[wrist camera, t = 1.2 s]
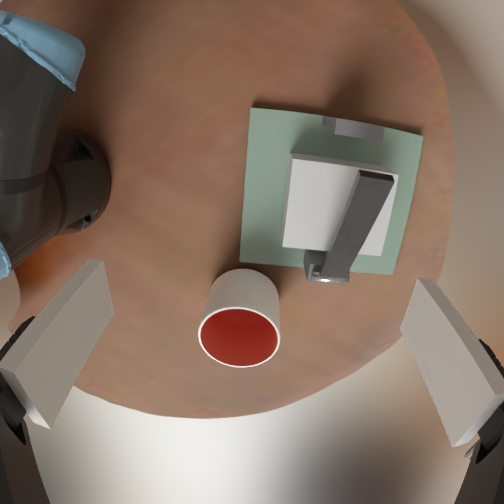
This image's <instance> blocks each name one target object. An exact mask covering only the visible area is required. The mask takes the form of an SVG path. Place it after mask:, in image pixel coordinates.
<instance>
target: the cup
mask: <svg viewBox="0 0 504 504" xmlns="http://www.w3.org/2000/svg"><path fill="white" fill-rule="evenodd" d="M198 337H199V342H200V344H201V346H202V348H203V349H204V351H205V352H206V353H207V354H208V355H209V356H210V357H212V358H213V359H214V360H216V361H218V362H220V363H222V364H225V365H228V366H233V367H251V366H256V365H259V364H261V363H263V362H265V361H267V360H269V359H270V358H271V357H272V356H273V355H274V354H275V353H276V351H277V350H278V347H279V345H280V315H279V296H278V292H277V289H276V287H275V285H274V284H273V282H272V281H271V280H270V279H269V278H268V277H266V276H265V275H264V274H262V273H260V272H258V271H255V270H251V269H234V270H231V271H228V272H226V273H224V274H222V275H221V276H220V277H218V278H217V279H216V280H215V282H214V283H213V285H212V287H211V289H210V292H209V295H208V299H207V302H206V305H205V309H204V312H203V316H202V319H201V323H200V326H199V330H198Z"/></svg>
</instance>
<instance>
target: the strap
mask: <svg viewBox="0 0 504 504" xmlns="http://www.w3.org/2000/svg"><path fill="white" fill-rule="evenodd" d="M394 182H395V181H394V178H393V175H388V174H383V173H377V172H371V171H365V170H358V173H357V176H356V179H355V181H354V184H353V187H352V189H351V192H350V195H349V197H348V200H347V203H346V205H345V208H344V210H343V213H342V216H341V218H340V221H339V223H338V226H337V228H336V231H335V233H334V236H333V238H332V241H331V243H330V246H329V248H328V251H327V253H326V255H325V258H324V260H323V263H322V265H321V267H320V270H319V272H317V271H312V273H311V281H313V282H325V283H339V284H348V283H349V274H347V273H348V271H349V269H350V267H351V266H352V264H353V262H354V260H355V258H356V257H357V255H358V253H359V251H360V249H361V248H362V246H363V244H364V242H365V240H366V238H367V236H368V234H369V232H370V231H371V229H372V227H373V225H374V223H375V221H376V219H377V217H378V215H379V213H380V211H381V209H382V207H383V205H384V203H385V201H386V199H387V197H388V195H389V193H390V191H391V189H392V187H393V185H394Z"/></svg>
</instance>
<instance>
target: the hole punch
mask: <svg viewBox="0 0 504 504" xmlns="http://www.w3.org/2000/svg"><path fill="white" fill-rule="evenodd" d="M422 143H423V136H420V135H416V134H412V133H408V132H404V131H400V130H396V129H391V128H387V127H382V126H378V125H373V124H368V123H363V122H358V121H352V120H347V119H341V118H335V117H328V116H322V115H315V114H307V113H300V112H291V111H282V110H272V109H260V108H251V110H250V122H249V135H248V147H247V160H246V174H245V187H244V201H243V215H242V229H241V243H240V258H239V262H245V263H256V264H268V265H279V266H290V267H302V268H304V269H305V274H306V278H307V281H308V282H313V281H311V273H312V271H317V272H319V270H320V267H321V265H322V263H323V260H324V258H325V255H326V253H327V251H328V248H329V246H330V243H331V241H332V238H333V236H334V233H335V231H336V228H337V226H338V223H339V221H340V218H341V216H342V213H343V210H344V208H345V205H346V203H347V200H348V197H349V195H350V192H351V189H352V187H353V184H354V181H355V179H356V176H357V173H358V170H365V171H371V172H377V173H383V174H388V175H393V178H394V181H395V182H394V185H393V187H392V189H391V191H390V193H389V195H388V197H387V199H386V201H385V203H384V205H383V207H382V209H381V211H380V213H379V215H378V217H377V219H376V221H375V223H374V225H373V227H372V229H371V231H370V232H369V234H368V236H367V238H366V240H365V242H364V244H363V246H362V248H361V249H360V251H359V253H358V255H357V257H356V258H355V260H354V262H353V264H352V266H351V267H350V269H349V271H348V273H347V274H349V273H350V272H362V273H374V274H387V275H392V274H393V271H394V268H395V264H396V261H397V257H398V254H399V250H400V246H401V243H402V239H403V235H404V231H405V227H406V223H407V219H408V215H409V211H410V206H411V202H412V197H413V192H414V188H415V183H416V177H417V172H418V167H419V161H420V155H421V149H422ZM321 283H325V282H321ZM334 284H339V283H334Z"/></svg>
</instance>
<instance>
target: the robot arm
mask: <svg viewBox="0 0 504 504" xmlns="http://www.w3.org/2000/svg"><path fill="white" fill-rule="evenodd" d="M84 59H85V47H84V45H83V43H82V42H81V41H80V40H79V39H78V38H76V37H74V36H72V35H70V34H68V33H66V32H64V31H62V30H60V29H57V28H55V27H52V26H50V25H47V24H45V23H42V22H39V21H37V20H34V19H31V18H28V17H24V16H21V15H16V14H12V13H8V12H6V11H1V10H0V279H2V278H3V277H7V276H8V275H9V274H10V272H11V271H12V270H13V269H14V268H16V267H17V266H18V265H19V264H20V263H21V262H23V261H24V260H25V259H26V258H27V257H29V256H30V255H31V254H32V253H33V252H35V251H36V250H37V249H38V248H40V247H41V246H42V245H43V244H45V243H46V242H47V241H49V240H50V239H51V238H53V237H54V236H58V235H64V234H70V233H76V232H79V231H81V230H83V229H85V228H87V227H88V226H90V225H91V224H92V223H93V222H95V221H96V220H97V219H98V218H99V217H100V216H101V214H102V213H103V211H104V210H105V208H106V206H107V203H108V200H109V196H110V189H111V178H110V171H109V166H108V163H107V160H106V158H105V156H104V154H103V152H102V150H101V149H100V147H99V146H98V144H97V143H96V142H95V141H94V140H93V139H92V138H90V137H89V136H88V135H86V134H84V133H82V132H80V131H77V130H61V131H60V129H61V126H62V123H63V120H64V117H65V114H66V111H67V108H68V105H69V102H70V100H71V97H72V94H73V92H75V90H76V82H77V79H78V76H79V73H80V70H81V67H82V65H83V62H84ZM114 314H115V313H114V309H113V305H112V300H111V296H110V291H109V286H108V281H107V276H106V271H105V265H104V260H98V259H88V260H87V261H86V262H85V263H84V264H83V265H82V266H81V267H80V268H79V269H78V270H77V271H76V272H75V273H74V274H73V276H72V277H71V278H70V279H69V280H68V281H67V282H66V283H65V284H64V285H63V286H62V288H61V289H60V290H59V291H58V292H57V293H56V294H55V295H54V296H53V298H52V299H51V300H50V301H49V302H48V303H47V304H46V306H45V307H44V308H43V309H42V310H41V311H40V313H39V314H38V315H37V316H36V317H35V316H32V317H31V318H29V319H28V320H26V321H25V322H23V323H22V324H21V325H20V327H19V328H18V329H17V330H16V331H15V334H13V335H12V336H11V338H10V339H9V342H8V341H7V343H6V344H5V345H4V346H3V348H2V349H1V350H0V504H50V502H49V499H48V497H47V494H46V491H45V488H44V485H43V483H42V480H41V477H40V473H39V470H38V467H37V464H36V460H35V457H34V453H33V450H32V446H31V442H30V438H29V434H28V429H27V426H26V423H25V421H24V419H23V417H24V416H25V414H26V412H27V414H28V415H29V416H30V418H31V419H32V420H33V422H34V423H36V424H39V425H42V426H44V427H47V428H49V429H51V427H52V425H53V423H54V421H55V419H56V417H57V415H58V413H59V411H60V409H61V407H62V405H63V404H64V402H65V400H66V398H67V396H68V394H69V392H70V390H71V388H72V386H73V385H74V383H75V381H76V379H77V377H78V375H79V374H80V372H81V370H82V368H83V366H84V365H85V363H86V361H87V359H88V357H89V356H90V354H91V352H92V350H93V349H94V347H95V345H96V344H97V342H98V340H99V338H100V337H101V335H102V333H103V332H104V330H105V328H106V327H107V325H108V323H109V322H110V320H111V318H112V317H113V315H114ZM400 331H401V333H402V335H403V337H404V339H405V341H406V343H407V345H408V347H409V349H410V351H411V353H412V355H413V357H414V359H415V361H416V363H417V365H418V368H419V370H420V372H421V374H422V376H423V378H424V380H425V383H426V385H427V387H428V389H429V392H430V394H431V396H432V399H433V401H434V403H435V405H436V408H437V410H438V413H439V415H440V418H441V420H442V422H443V425H444V427H445V430H446V432H447V435H448V438H449V440H450V443H451V445H452V447H455V446H458V445H461V444H464V443H468V442H469V441H470V440H471V439H472V438H473V437H474V436H475V435H476V433H477V432H478V434H479V437H480V439H479V440H478V441H477V442H476V443H475V444H474V446H472V447H471V448H470V449H469V450H468V451H467V453H466V454H465V457H467V456H469V454H471V452H473V455H472V457H471V458H470V459H471V461H470V464H469V467H468V469H467V472H466V476H465V478H464V481H463V483H462V486H461V488H460V491H459V494H458V496H457V498H456V501H455V503H454V504H504V368H503V367H502V366H501V363H500V362H499V360H498V359H497V358H496V356H495V355H494V353H493V351H492V350H491V349H490V347H489V346H488V345H486V344H485V343H484V342H483V341H482V340H481V339H477V337H476V336H475V335H474V333H473V332H472V330H471V329H470V328H469V326H468V325H467V323H466V322H465V321H464V319H463V318H462V317H461V315H460V314H459V313H458V311H457V310H456V309H455V307H454V306H453V305H452V303H451V302H450V301H449V299H448V298H447V297H446V296H445V294H444V293H443V292H442V291H441V289H440V288H439V287H438V286H437V284H436V283H435V282H434V281H433V279H432V278H417V281H416V284H415V287H414V290H413V293H412V296H411V299H410V302H409V305H408V308H407V311H406V313H405V316H404V319H403V321H402V324H401V327H400Z"/></svg>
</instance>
